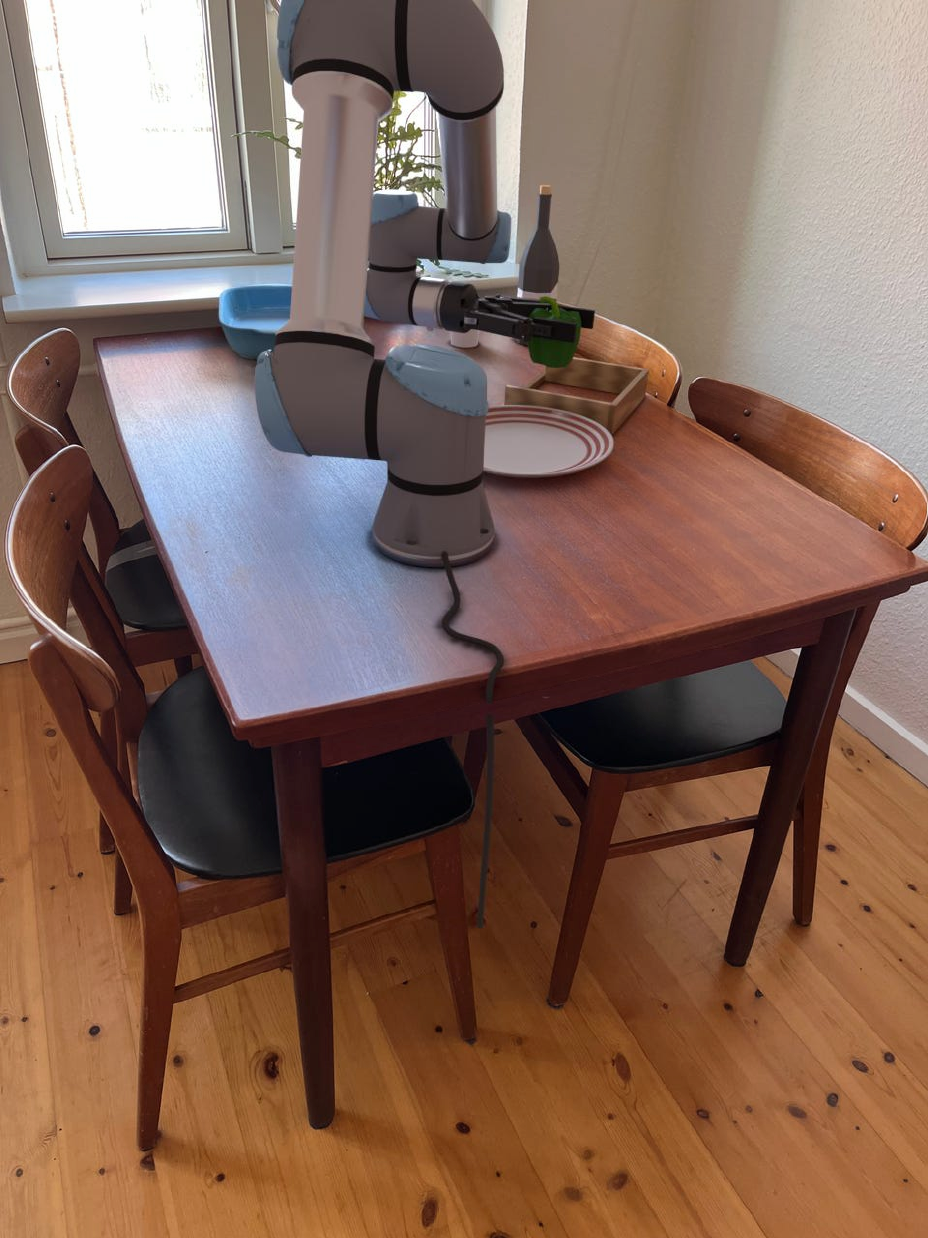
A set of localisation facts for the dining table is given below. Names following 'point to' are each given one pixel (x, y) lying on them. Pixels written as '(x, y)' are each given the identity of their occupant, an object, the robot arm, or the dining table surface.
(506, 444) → the dinner plate
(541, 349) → the bell pepper
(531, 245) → the wine bottle
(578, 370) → the crate
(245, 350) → the casserole dish
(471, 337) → the white cup
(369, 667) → the dining table surface
